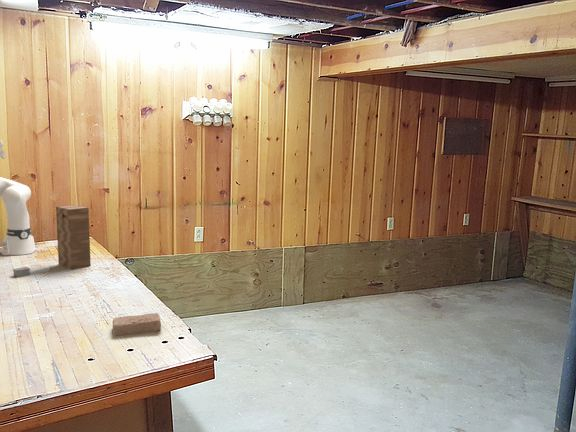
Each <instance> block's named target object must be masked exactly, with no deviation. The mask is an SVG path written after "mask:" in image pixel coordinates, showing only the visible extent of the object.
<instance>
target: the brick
mask: <svg viewBox="0 0 576 432" xmlns="http://www.w3.org/2000/svg"><path fill="white" fill-rule="evenodd" d="M161 329H162V323H161V317H160V315H159V313H158V312H156V313H155V312H154V313H152V312H151V313H145V314H144V313H143V314H141V315H140V314H139V315H124V316H118V317H114V318H113V320H112V335H113V336H114V337H115V336H123V335H134V334H142V333H143V334H145V333H153V332H157V331H159V330H161Z"/></svg>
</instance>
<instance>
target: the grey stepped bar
mask: <svg viewBox="0 0 576 432" xmlns="http://www.w3.org/2000/svg"><path fill="white" fill-rule="evenodd" d="M12 269H13V276H14V277H15V276H16V278H23V277H28V276H31V275H35V274H41V273H47V272H50V267H43V268H42V267H41V268H38V269H32V270H31V268H30V267H28V266H22V267H17V268H12Z"/></svg>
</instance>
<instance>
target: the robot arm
mask: <svg viewBox="0 0 576 432" xmlns="http://www.w3.org/2000/svg"><path fill="white" fill-rule="evenodd" d="M3 146H4V142H3V141H2V140H1V139H0V158H1V159H3V160H4V159H6V158H7V155H6V154H5V151H4V149H3ZM31 196H32V191H31V188H30V186H28V185H26V184H23V183H21V182H18V181H14V180H11V179H8V178H4V177H1V176H0V198H2V199H1V200H2V201H3V204H4V208H5V211H6V219H7V229H6V236H5V237H4V239H2V242H0V247H1V248H0V254H1V255H3V256H22V255H23V256H24V255H30V254H32V253H35V252H36V251H38V248H37V247H36V246H35V239H34V236H33V235H32V229H31V226H30V223H31V222H30V214H29V211H28V207H27V201H29V200H30V198H31Z"/></svg>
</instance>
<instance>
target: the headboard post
mask: <svg viewBox="0 0 576 432" xmlns="http://www.w3.org/2000/svg"><path fill="white" fill-rule="evenodd" d="M55 213H56V215H55V216H56V233H57V234H56V235H57V254H58V256H57V257H58V266H61V267H64V268H67V269H70V270H77V269H82V268H88V267H91V264H92V263H91V244H90V243H91V240H90V236H91V235H90V216H89V215H90V214H89V213H90V212H89V207H86V206H81V205H75V204H71V205H69V204H68V205H60V206H55Z"/></svg>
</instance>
